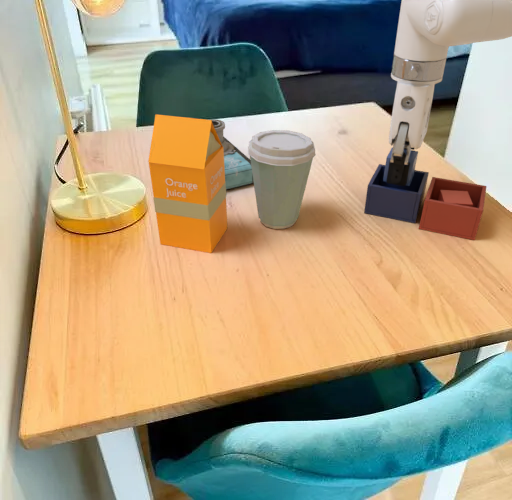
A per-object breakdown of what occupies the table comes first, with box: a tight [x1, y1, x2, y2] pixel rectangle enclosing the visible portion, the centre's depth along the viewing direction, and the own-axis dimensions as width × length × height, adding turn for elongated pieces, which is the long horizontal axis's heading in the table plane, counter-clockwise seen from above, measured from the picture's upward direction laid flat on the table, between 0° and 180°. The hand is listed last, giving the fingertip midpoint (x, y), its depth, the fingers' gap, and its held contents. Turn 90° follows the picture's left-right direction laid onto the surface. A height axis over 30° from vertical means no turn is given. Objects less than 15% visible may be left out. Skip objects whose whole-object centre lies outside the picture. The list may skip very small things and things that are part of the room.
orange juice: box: [147, 113, 229, 254], centre depth 77 cm, size 8×9×20 cm
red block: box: [438, 190, 473, 207], centre depth 83 cm, size 4×4×4 cm
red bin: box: [418, 176, 487, 241], centre depth 84 cm, size 9×9×6 cm
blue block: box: [383, 146, 419, 186], centre depth 85 cm, size 4×4×4 cm
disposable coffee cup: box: [247, 129, 316, 230], centre depth 82 cm, size 11×11×15 cm
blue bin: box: [363, 163, 429, 224], centre depth 88 cm, size 9×9×6 cm
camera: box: [211, 119, 254, 190], centre depth 98 cm, size 16×10×10 cm
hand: (399, 176), depth 86 cm, fingers closed on blue block, 4 cm apart
